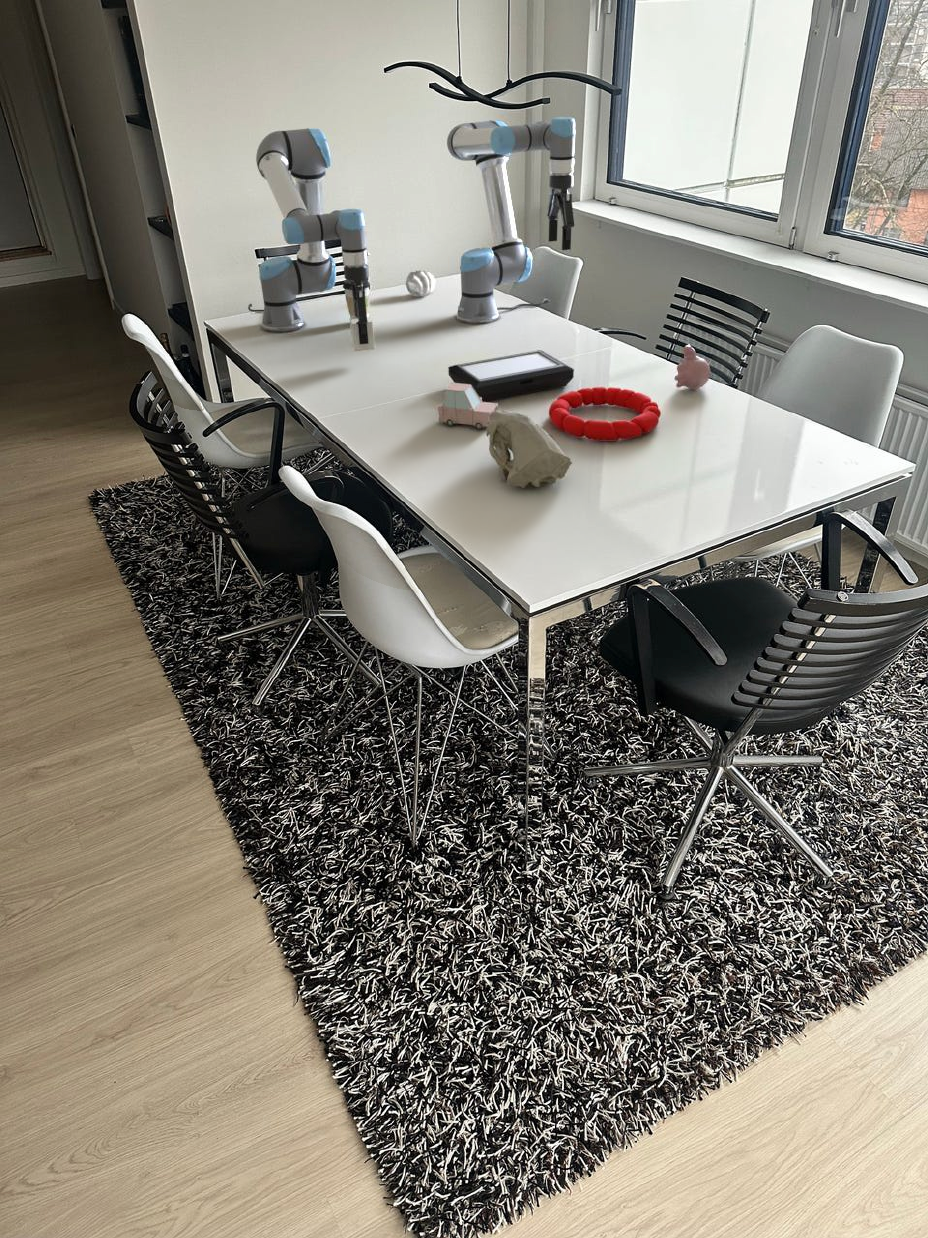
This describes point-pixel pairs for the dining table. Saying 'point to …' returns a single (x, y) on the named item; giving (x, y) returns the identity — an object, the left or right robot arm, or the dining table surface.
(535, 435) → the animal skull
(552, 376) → the electronic device
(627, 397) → the decorative ring
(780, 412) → the dining table surface
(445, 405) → the toy car
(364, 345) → the block
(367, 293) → the coffee cup
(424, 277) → the seashell
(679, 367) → the figurine
